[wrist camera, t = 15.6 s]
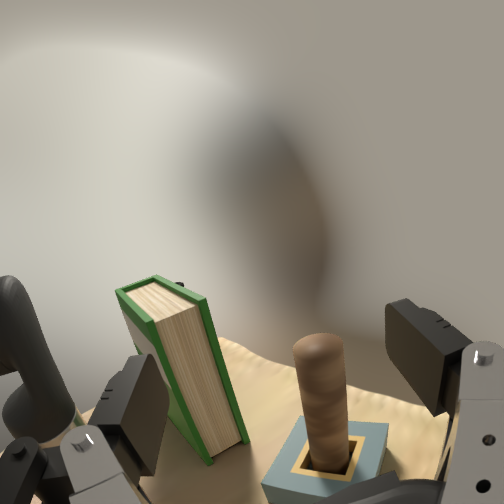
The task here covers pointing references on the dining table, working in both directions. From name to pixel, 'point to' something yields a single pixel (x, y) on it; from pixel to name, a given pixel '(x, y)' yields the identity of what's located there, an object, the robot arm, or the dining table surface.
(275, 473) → the socket block
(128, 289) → the hardback book
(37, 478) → the robot arm
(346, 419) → the peg
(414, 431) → the dining table surface
